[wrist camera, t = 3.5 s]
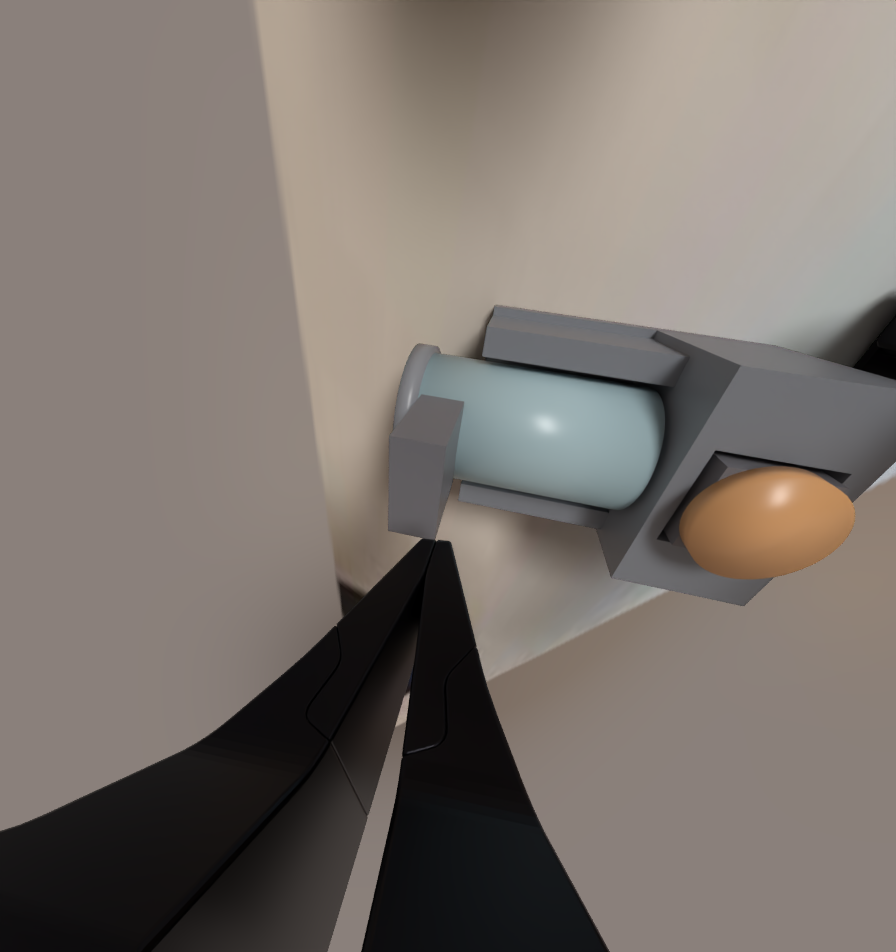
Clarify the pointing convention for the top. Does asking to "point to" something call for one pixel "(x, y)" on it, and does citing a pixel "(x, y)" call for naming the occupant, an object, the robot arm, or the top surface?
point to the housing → (698, 428)
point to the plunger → (760, 517)
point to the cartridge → (515, 436)
